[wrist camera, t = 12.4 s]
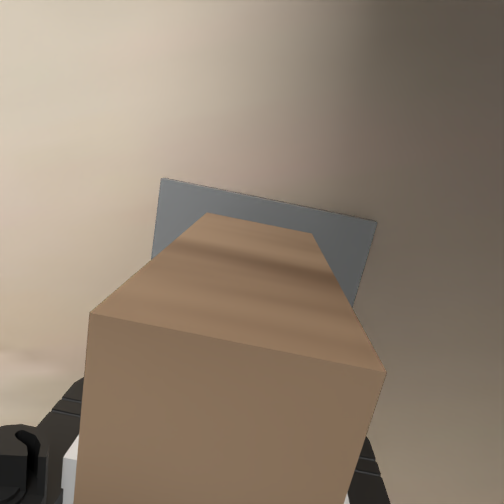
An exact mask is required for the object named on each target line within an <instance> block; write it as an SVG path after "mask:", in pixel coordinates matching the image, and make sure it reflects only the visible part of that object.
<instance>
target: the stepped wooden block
mask: <svg viewBox="0 0 504 504" xmlns="http://www.w3.org/2000/svg"><path fill="white" fill-rule="evenodd" d="M386 373H387V372H386V370H385V368H384V366H383V364H382V363H381V361H380V359H379V357H378V355H377V353H376V351H375V350H374V348H373V346H372V344H371V342H370V340H369V339H368V337H367V335H366V333H365V331H364V329H363V327H362V326H361V324H360V322H359V320H358V318H357V316H356V314H355V313H354V311H353V309H352V307H351V305H350V303H349V302H348V300H347V298H346V296H345V294H344V292H343V290H342V289H341V287H340V285H339V283H338V281H337V279H336V277H335V276H334V274H333V272H332V270H331V268H330V266H329V265H328V263H327V261H326V259H325V257H324V255H323V253H322V252H321V250H320V248H319V246H318V244H317V242H316V241H315V239H314V237H313V235H312V233H307V232H302V231H297V230H292V229H287V228H282V227H277V226H272V225H267V224H262V223H257V222H252V221H247V220H242V219H237V218H232V217H227V216H222V215H217V214H212V213H206V214H204V215H203V216H202V217H201V218H200V219H199V220H197V221H196V222H195V223H194V224H193V225H192V226H190V227H189V228H188V229H187V230H186V231H185V232H183V233H182V234H181V235H180V236H179V237H178V238H176V239H175V240H174V241H173V242H172V243H171V244H169V245H168V246H167V247H166V248H165V249H164V250H162V251H161V252H160V253H159V254H158V255H157V256H155V257H154V258H153V259H152V260H151V261H150V262H148V263H147V264H146V265H145V266H144V267H142V268H141V269H140V270H139V271H138V272H137V273H135V274H134V275H133V276H132V277H131V278H130V279H128V280H127V281H126V282H125V283H124V284H123V285H121V286H120V287H119V288H118V289H117V290H116V291H114V292H113V293H112V294H111V295H110V296H109V297H107V298H106V299H105V300H104V301H103V302H102V303H100V304H99V305H98V306H97V307H96V308H95V309H93V310H92V311H91V312H90V314H89V325H88V337H87V349H86V360H85V372H84V384H83V395H82V407H81V419H80V431H79V442H78V454H77V466H76V477H75V489H74V501H73V504H344V501H345V498H346V495H347V492H348V489H349V486H350V483H351V480H352V477H353V474H354V471H355V468H356V465H357V462H358V459H359V455H360V452H361V449H362V446H363V443H364V440H365V437H366V434H367V431H368V428H369V425H370V422H371V419H372V416H373V413H374V410H375V407H376V404H377V401H378V398H379V395H380V392H381V389H382V386H383V383H384V380H385V377H386Z"/></svg>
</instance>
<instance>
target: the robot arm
mask: <svg viewBox="0 0 504 504" xmlns="http://www.w3.org/2000/svg"><path fill="white" fill-rule="evenodd" d="M83 384H84V377H83V378H82V379H80V380H78V381H77V382H75V383H74V384H73V385H72V386H71V387H70V389H69V390H68V391H67V392H66V393H65V394H64V396H63V397H62V400H59V401H58V403H57V404H56V405H55V406H54V407H53V408H52V411H51V412H49V413H48V414H47V415H46V417H45V418H44V419H43V420H42V421H41V422H40V424H39V425H38V426H37V427H32V426H27V425H23V424H19V425H5V426H1V427H0V504H73V501H74V489H75V477H76V466H77V454H78V442H79V431H80V419H81V407H82V395H83ZM344 504H390V501H389V498H388V495H387V492H386V489H385V486H384V483H383V480H382V478H381V477H380V471H379V468H378V465H377V462H375V456H374V453H373V450H372V447H371V444H370V441H369V440H368V438H367V437H365V440H364V443H363V446H362V449H361V452H360V455H359V459H358V462H357V465H356V468H355V471H354V474H353V477H352V480H351V483H350V486H349V489H348V492H347V495H346V498H345V501H344Z"/></svg>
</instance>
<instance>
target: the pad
mask: <svg viewBox="0 0 504 504" xmlns="http://www.w3.org/2000/svg"><path fill="white" fill-rule="evenodd" d="M206 213H212V214H217V215H222V216H227V217H232V218H237V219H242V220H247V221H252V222H257V223H262V224H267V225H272V226H277V227H282V228H287V229H292V230H297V231H302V232H307V233H312V235H313V237H314V239H315V241H316V242H317V244H318V246H319V248H320V250H321V252H322V253H323V255H324V257H325V259H326V261H327V263H328V265H329V266H330V268H331V270H332V272H333V274H334V276H335V277H336V279H337V281H338V283H339V285H340V287H341V289H342V290H343V292H344V294H345V296H346V298H347V300H348V302H349V303H350V305H351V307H353V304H354V300H355V297H356V294H357V290H358V287H359V284H360V280H361V277H362V273H363V270H364V267H365V263H366V260H367V257H368V253H369V250H370V246H371V243H372V240H373V236H374V233H375V230H376V226H377V222H376V221H374V220H369V219H364V218H359V217H354V216H349V215H344V214H339V213H334V212H329V211H325V210H320V209H315V208H310V207H305V206H300V205H295V204H290V203H285V202H280V201H275V200H271V199H266V198H261V197H256V196H251V195H246V194H241V193H236V192H231V191H226V190H222V189H217V188H212V187H207V186H202V185H197V184H192V183H187V182H182V181H177V180H172V179H168V178H162V179H161V183H160V191H159V199H158V207H157V216H156V224H155V232H154V240H153V248H152V256H151V260H152V259H153V258H154V257H155V256H157V255H158V254H159V253H160V252H161V251H162V250H164V249H165V248H166V247H167V246H168V245H169V244H171V243H172V242H173V241H174V240H175V239H176V238H178V237H179V236H180V235H181V234H182V233H183V232H185V231H186V230H187V229H188V228H189V227H190V226H192V225H193V224H194V223H195V222H196V221H197V220H199V219H200V218H201V217H202V216H203V215H204V214H206Z"/></svg>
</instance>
